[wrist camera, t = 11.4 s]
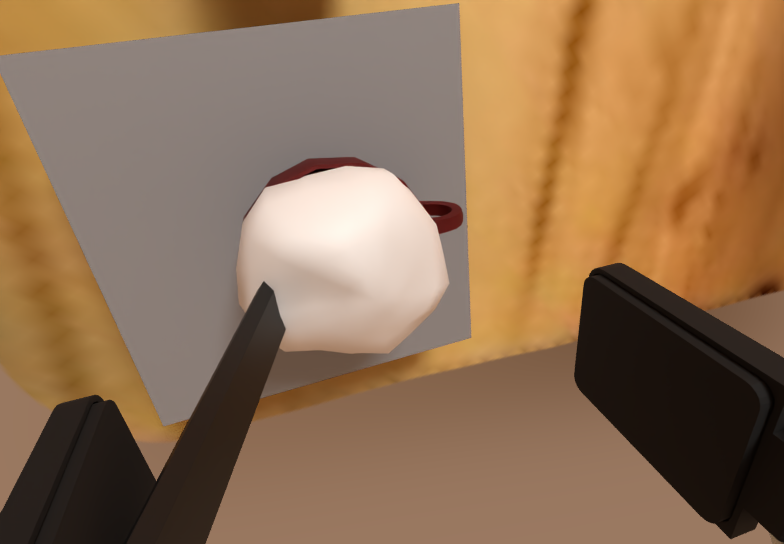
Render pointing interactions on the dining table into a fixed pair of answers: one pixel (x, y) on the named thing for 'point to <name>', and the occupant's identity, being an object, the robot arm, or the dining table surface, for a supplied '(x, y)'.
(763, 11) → the dining table surface
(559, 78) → the dining table surface
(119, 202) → the stand
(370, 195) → the cocoa
